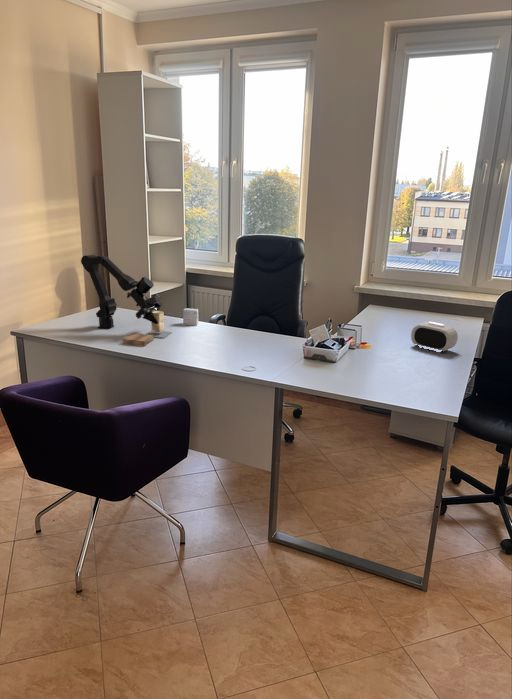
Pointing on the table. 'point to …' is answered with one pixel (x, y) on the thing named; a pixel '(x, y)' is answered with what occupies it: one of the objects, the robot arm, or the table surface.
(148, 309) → the robot arm
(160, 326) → the birch blank
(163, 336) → the slate mat
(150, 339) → the walnut shelf block
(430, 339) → the alarm clock
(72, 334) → the table surface
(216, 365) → the table surface
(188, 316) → the medicine box
